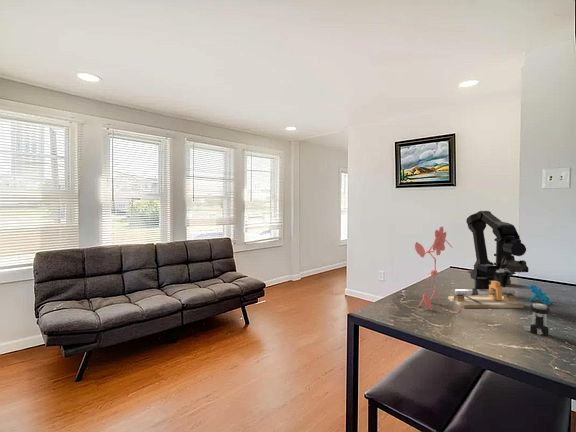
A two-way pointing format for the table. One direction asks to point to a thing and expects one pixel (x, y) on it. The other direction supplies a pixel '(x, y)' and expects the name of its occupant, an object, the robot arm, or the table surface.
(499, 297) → the collar
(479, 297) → the tube stand
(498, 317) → the table surface
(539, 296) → the gear
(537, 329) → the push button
